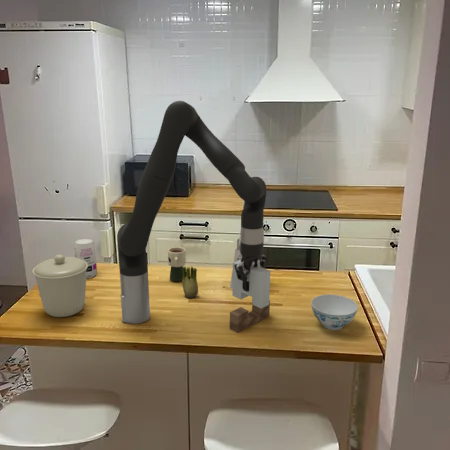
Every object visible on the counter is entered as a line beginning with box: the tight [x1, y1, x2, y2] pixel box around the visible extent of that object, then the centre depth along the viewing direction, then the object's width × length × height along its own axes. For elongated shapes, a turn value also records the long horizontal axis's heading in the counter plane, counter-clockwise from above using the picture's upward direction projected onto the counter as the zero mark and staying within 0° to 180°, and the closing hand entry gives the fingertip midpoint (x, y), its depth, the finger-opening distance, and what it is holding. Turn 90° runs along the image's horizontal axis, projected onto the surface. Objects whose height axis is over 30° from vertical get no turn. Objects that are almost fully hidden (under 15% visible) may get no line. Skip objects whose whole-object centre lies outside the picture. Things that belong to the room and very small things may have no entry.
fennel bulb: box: [181, 265, 199, 299], centre depth 175 cm, size 6×5×12 cm
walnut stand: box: [229, 299, 271, 333], centre depth 157 cm, size 16×4×6 cm, turn 134°
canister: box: [31, 253, 88, 318], centre depth 162 cm, size 18×18×21 cm
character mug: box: [167, 246, 187, 282], centre depth 189 cm, size 11×7×13 cm, turn 3°
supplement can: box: [73, 238, 98, 279], centre depth 193 cm, size 8×8×15 cm
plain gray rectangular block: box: [231, 260, 271, 308], centre depth 154 cm, size 4×13×12 cm, turn 45°
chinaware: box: [310, 293, 359, 331], centre depth 155 cm, size 15×15×8 cm
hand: (250, 288), depth 154 cm, fingers closed on plain gray rectangular block, 4 cm apart
